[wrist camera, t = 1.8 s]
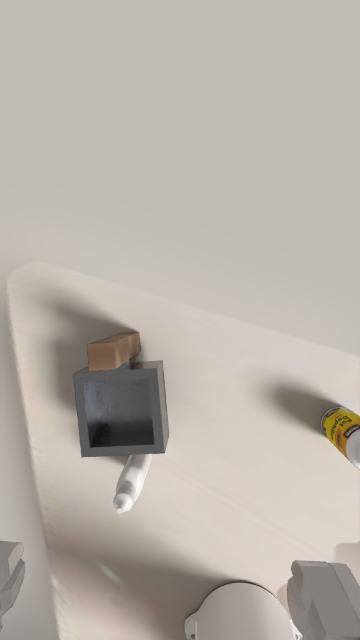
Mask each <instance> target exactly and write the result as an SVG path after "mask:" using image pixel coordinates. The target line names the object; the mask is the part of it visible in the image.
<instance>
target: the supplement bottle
mask: <svg viewBox="0 0 360 640" xmlns="http://www.w3.org/2000/svg"><path fill="white" fill-rule="evenodd" d="M321 428H322V431H323V433H324V435H325V436H326V437H327V438H328V439H329V441H330V442H331V443H332V444H333V445H334V446H335V447H336V448H337V449H338V450H339V451H340V452H341V453H342V454H343V455H344V456H345V457H346V458H347V459H348V460H349V461H350V462H351V463H352V464H353V465H354V466H355V467H357V468H358V469H360V416H358V415H357V414H356V413H354V412H353V411H351V410H349V409H347V408H344V407H335V408H332V409H330V410H328V411H327V412H326V413H325V414H324V416H323V418H322V420H321Z"/></svg>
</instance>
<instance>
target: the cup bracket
mask: <svg viewBox="0 0 360 640" xmlns="http://www.w3.org/2000/svg"><path fill="white" fill-rule="evenodd" d="M140 351H141V346H140V335H139V332H138V333H126V334H119V335H116V336H113V337H109V338H106V339H103V340H100V341H96V342H93V343H90V344H87V353H88V363H89V366H88V367H86V368H84V369H82V370H80V371H78V372H76V373H74V374H73V377H74V387H75V397H76V406H77V416H78V426H79V436H80V446H81V456H82V457H97V456H118V455H139V454H160V453H165V450H166V446H167V442H168V438H169V427H168V416H167V405H166V394H165V383H164V372H163V360H162V361H148V362H135V363H130V358H132V357H133V356H135V355H136V354H137V353H139V352H140Z"/></svg>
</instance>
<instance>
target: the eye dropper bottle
mask: <svg viewBox="0 0 360 640" xmlns="http://www.w3.org/2000/svg"><path fill="white" fill-rule="evenodd" d="M151 459H152V454H139V455H130V456H129V458H128V460H127V462H126V464H125V466H124V468H123V471H122V473H121V475H120V477H119V480H118V483H117V488H116V495H115V497H114V506H115V508H116V509H117V513H118V514H121V513H122V512H126V511H128V510H130V509H131V507H132V505H133V502H134V501H135V500H136V499H137V498H138V496H139V494H140V492H141V490H142V487H143V484H144V481H145V478H146V475H147V472H148V468H149V465H150V462H151Z"/></svg>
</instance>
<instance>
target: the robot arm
mask: <svg viewBox="0 0 360 640" xmlns="http://www.w3.org/2000/svg"><path fill="white" fill-rule="evenodd" d="M23 552H24V549H23V543H19V542H7V541H0V631H1V629H2V616H3V615H4V614H5V613H6V612H7V611H8V610H9V609H10V608H11V607H12V606H13V604H14V602H15V600H16V598H17V596H18V594H19V591H20V588H21V585H22V582H23V579H24V573H25V563H24V561H23V560H22V559H21V556H22V554H23ZM291 571H292V574H293V577H291V578H290V579H289V580H288V584H287V601H288V605H289V611H290V612H288V611H287V610H286V609H285V608H284V607H283V606H282V605H281V603H280V602H279V601H278V600H277V599H276V598H275V597H274V596H273V595H272V594H271V593H269V592H268V591H266V590H265V589H263V588H261V587H259V586H256V585H253V584H248V583H232V584H227V585H224V586H222V587H219V588H218V589H216V590H214V591H213V592H212V593H211V594H209V596H208V597H207V598H206V599H205V600H204V602H203V604H202V605H201V607H200V608H199V610H198V611H197V612H195V613H194V614H192V615H191V616H189V617H188V618H187V619H186V620H185V623H184V625H185V634H186V638H187V640H360V587H359V585H358V583H357V581H356V579H355V577H354V576H353V574H352V572H351V570H350V568H349V567H348V566H347V565H346V564H343V563H327V562H320V561H298V560H295V561H294V562H292V566H291Z"/></svg>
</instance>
